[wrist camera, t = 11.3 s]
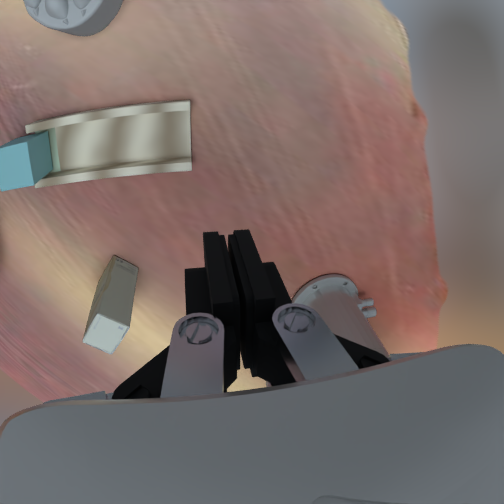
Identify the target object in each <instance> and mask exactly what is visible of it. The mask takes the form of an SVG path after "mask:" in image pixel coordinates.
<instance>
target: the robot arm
mask: <svg viewBox="0 0 504 504" xmlns="http://www.w3.org/2000/svg"><path fill="white" fill-rule="evenodd" d="M203 242H204V260H205V267H203V268H190V269H185V295H186V316H184V317H182V318H181V319H179V320H178V321H177V322H176V324H175V326H174V328H173V332H172V337H171V342H170V345H169V346H168V347H167V348H165V349H164V350H163V351H162V352H160V353H159V354H158V355H157V356H155V357H154V358H153V359H152V360H150V361H149V362H148V363H147V364H145V365H144V366H143V367H142V368H140V369H139V370H138V371H137V372H135V373H134V374H133V375H132V376H130V377H129V378H128V379H127V380H125V381H124V382H123V383H122V384H120V385H119V386H118V387H117V388H116V390H115V391H114V393H109V394H106V393H105V391H101V392H96V393H90V394H85V395H80V396H74V397H68V398H62V399H56V400H50V401H47V402H44V403H43V404H40V405H36V406H33V407H30V408H27V409H24V410H21V411H19V412H17V413H15V414H13V415H11V416H10V417H9V418H7V419H6V420H5V421H4V422H3V423H2V425H1V426H0V504H504V355H503V354H502V353H501V352H500V351H498V350H497V349H495V348H493V347H490V346H485V345H478V344H462V345H454V346H448V347H443V348H439V349H435V350H431V351H427V352H420V353H403V354H390V355H389V354H388V352H387V350H386V349H385V347H384V346H383V344H382V342H381V341H380V339H379V338H378V336H377V335H376V333H375V331H374V330H373V328H372V327H371V325H370V324H369V322H368V320H367V319H366V318H370V317H375V316H376V308H375V307H374V306H372V305H373V304H374V301H373V299H372V298H368V299H364V300H361V299H359V297H358V290H357V288H356V286H355V284H354V283H353V282H352V281H351V280H350V279H349V278H347V277H346V276H343V275H338V274H330V275H325V276H321V277H318V278H316V279H314V280H312V281H310V282H309V283H307V284H306V285H304V286H303V287H302V288H301V289H300V290H299V291H298V292H297V293H296V295H295V296H294V298H293V300H292V301H291V299H290V297H289V295H288V292H287V290H286V288H285V286H284V283H283V281H282V279H281V277H280V274H279V272H278V270H277V268H276V265H275V264H274V262H266V263H262V261H261V259H260V256H259V254H258V251H257V248H256V246H255V243H254V241H253V238H252V236H251V233H250V231H249V230H234V233H233V234H231V235H228V249H227V245H226V241H225V237H224V235H219V234H218V232H203ZM364 306H372V307H367V308H364V309H362V307H364ZM240 351H241V356H242V360H243V365H244V368H245V369H247V368H250V370H251V374H252V377H257V376H258V377H260V378H262V379H264V380H266V387H265V388H258V389H250V390H243V391H235V392H227V388H228V387H229V386H230V385H231V384H232V383H233V382H234V381H235V380H236V379H237V370H239V369H240Z"/></svg>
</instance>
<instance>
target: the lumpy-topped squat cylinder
mask: <svg viewBox="0 0 504 504" xmlns="http://www.w3.org/2000/svg"><path fill="white" fill-rule="evenodd" d="M23 1H24V3H25V6H26V9H27V11H28V13H29V15H30V16H31V17H32V18H33V19H35V20H36V21H37V22H39V23H40V24H42V25H44V26H45V27H48V28H51V29H54V30H58V31H61V32H65V33H68V34H72V35H76V36H91V35H94V34H96V33H98V32H100V31H102V30H103V29H104V28H106V27H107V26H108V25H109V24H110V22H111V21H112V20H113V19H114V17H115V16H116V14H117V13H118V11H119V9H120V7H121V5H122V2H123V0H23Z"/></svg>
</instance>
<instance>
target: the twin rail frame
mask: <svg viewBox="0 0 504 504" xmlns="http://www.w3.org/2000/svg"><path fill="white" fill-rule="evenodd" d="M25 127H26V134H27V133H31V132H35V134H36V133H41V132H45V131H48V136H49V144H50V152H51V159H52V165H53V170H51V171H50V172H49V173H48V174H47V175H45V176H44V177H43V178H42V179H41V180H40V181H38V182H37V183H36V184H35V188H39V187H46V186H52V185H58V184H65V183H72V182H79V181H87V180H95V179H103V178H111V177H121V176H130V175H140V174H151V173H163V172H177V171H192V165H191V132H190V100H175V101H162V102H150V103H140V104H132V105H123V106H116V107H108V108H102V109H95V110H89V111H83V112H78V113H72V114H67V115H62V116H57V117H52V118H48V119H43V120H39V121H36V122H33V123H31V124H28V125H26V126H25Z"/></svg>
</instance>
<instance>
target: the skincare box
mask: <svg viewBox="0 0 504 504" xmlns="http://www.w3.org/2000/svg"><path fill="white" fill-rule="evenodd" d="M137 274H138V268H137V267H136V266H134V265H132V264H130V263H128V262H126V261H124V260H122V259H120V258H118V257H116V256H113V257H112V259H111V261H110V262H109V264H108V266H107V268H106V269H105V271H104V273H103V275H102V277H101V279H100V280H99V282H98V285H97V288H96V292H95V295H94V299H93V302H92V306H91V310H90V313H89V317H88V321H87V325H86V329H85V333H84V338H83V342H84V343H86V344H88V345H90V346H93V347H95V348H97V349H99V350H102V351H104V352H106V353H109V354H112V353H113V352H114V351H115V349H116V348H117V346H118V345H119V344H120V342H121V340H122V339H123V337H124V336H125V334H126V333H127V331H128V329H129V328H130V321H131V314H132V307H133V300H134V293H135V287H136V280H137Z"/></svg>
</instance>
